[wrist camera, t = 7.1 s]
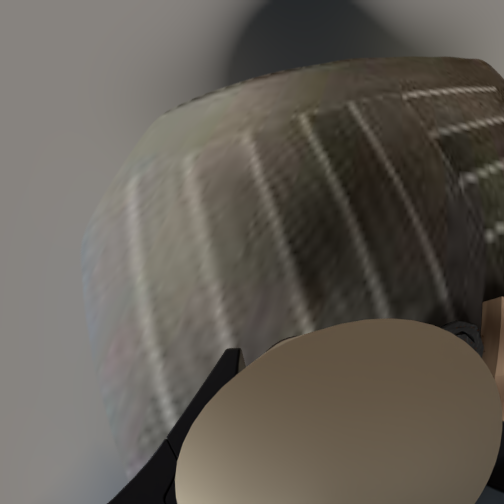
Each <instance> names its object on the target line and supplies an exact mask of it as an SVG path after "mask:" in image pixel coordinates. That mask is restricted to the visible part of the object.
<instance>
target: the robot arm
mask: <svg viewBox="0 0 504 504" xmlns="http://www.w3.org/2000/svg"><path fill="white" fill-rule="evenodd" d="M244 368H246V366H245V362H244V358H243V354H242V350H241V349H240V348H229V349H226V350H225V352H224V353H223V355H222V356H221V358H220V359H219V361H218V362H217V364H216V365H215V367H214V368H213V370H212V371H211V373H210V374H209V376H208V377H207V379H206V380H205V382H204V383H203V385H202V386H201V388H200V389H199V391H198V392H197V394H196V395H195V397H194V398H193V400H192V401H191V402H190V404H189V405H188V407H187V408H186V410H185V411H184V413H183V414H182V416H181V417H180V418H179V420H178V421H177V423H176V424H175V426H174V427H173V428H172V430H171V431H170V433H169V434H168V436H167V439H165V440H164V441H163V442H162V444H161V445H160V447H159V448H158V449H157V451H156V452H155V453H154V455H153V456H152V457H151V458H150V460H149V461H148V462H147V463H146V465H145V466H144V467H143V468H142V469H141V470H140V471H139V472H138V473H137V474H136V476H135V477H134V478H133V479H132V480H131V481H130V482H129V483H128V484H127V485H126V486H125V487H124V488H123V489H122V490H121V491H120V492H119V493H118V494H117V495H116V496H115V497H114V498H113V499H112V500H111V501H110V502H109V503H107V504H177V499H176V490H175V475H176V467H177V461H178V457H179V454H180V451H181V448H182V445H183V442H184V440H185V438H186V436H187V434H188V432H189V430H190V428H191V426H192V424H193V423H194V421H195V420H196V418H197V417H198V415H199V414H200V413H201V411H202V410H203V408H204V407H205V405H206V404H207V403H208V402H209V401H210V400H211V399H212V398H213V397H214V396H215V395H216V394H217V392H218V391H219V390H220V389H221V388H222V387H223V386H224V385H225V384H227V383H228V382H229V381H230V380H231V379H233V378H234V377H235V376H236V375H237V374H238V373H240V372H241V371H242V370H243V369H244ZM475 504H504V421H502V435H501V443H500V448H499V452H498V455H497V459H496V462H495V465H494V468H493V470H492V473H491V475H490V478H489V480H488V482H487V484H486V486H485V488H484V489H483V491H482V493H481V495H480V496H479V498H478V499H477V501H476V502H475Z"/></svg>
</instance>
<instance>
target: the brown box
mask: <svg viewBox="0 0 504 504" xmlns="http://www.w3.org/2000/svg"><path fill="white" fill-rule="evenodd" d="M481 335H483V336H484V338H483V337H482V336H481V340H482V343H483V342H484V343H483V346H484V350H483V351H485V352H483V355H482V359H483V361H484V362H485V363H486V365H487V366H488V368H489V370H490V372H491V374H492V376H493V378H494V380H495V382H496V385H497V388H498V392H499V395H500V400H501V407H502V421H504V297H498V298H495V299H492V300H489V301H485V302H483V305H482V325H481Z"/></svg>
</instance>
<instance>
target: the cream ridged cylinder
mask: <svg viewBox="0 0 504 504" xmlns="http://www.w3.org/2000/svg"><path fill="white" fill-rule="evenodd" d="M501 435H502V407H501V400H500V395H499V392H498V388H497V385H496V382H495V380H494V378H493V376H492V374H491V372H490V370H489V368H488V366H487V365H486V363H485V362H484V361H483V359H482V358H481V357H480V355H479V354H478V353H477V352H476V351H475V350H474V349H473V348H472V347H470V346H469V345H468V344H467V343H466V342H465V341H463V340H462V339H460V338H459V337H457V336H455V335H454V334H452V333H451V332H448V331H446V330H444V329H441V328H439V327H436V326H434V325H430V324H426V323H422V322H418V321H414V320H403V319H392V318H388V319H367V320H361V321H355V322H349V323H343V324H339V325H336V326H332V327H329V328H325V329H322V330H318V331H314V332H311V333H308V334H304V335H301V336H293V337H289V338H286V339H283V340H281V341H279V342H277V343H276V344H274V345H273V346H272V347H271V348H269V349H268V350H267V351H266V353H265V354H263V355H262V356H261V357H259V358H258V359H257V360H255V361H254V362H253V363H251V364H250V365H249V366H247V367H246V368H244V369H243V370H242V371H241V372H240V373H238V374H237V375H236V376H235V377H234V378H233V379H231V380H230V381H229V382H228V383H227V384H225V385H224V386H223V387H222V388H221V389H220V390H219V391H218V392H217V394H216V395H215V396H214V397H213V398H212V399H211V400H210V401H209V402H208V403H207V404H206V405H205V407H204V408H203V410H202V411H201V413H200V414H199V415H198V417H197V418H196V420H195V421H194V423H193V424H192V426H191V428H190V430H189V432H188V434H187V436H186V438H185V440H184V442H183V445H182V448H181V451H180V454H179V457H178V461H177V467H176V475H175V490H176V499H177V504H475V502H476V501H477V499H478V498H479V496H480V495H481V493H482V491H483V489H484V488H485V486H486V484H487V482H488V480H489V478H490V475H491V473H492V470H493V468H494V465H495V462H496V459H497V455H498V452H499V448H500V443H501Z"/></svg>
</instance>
